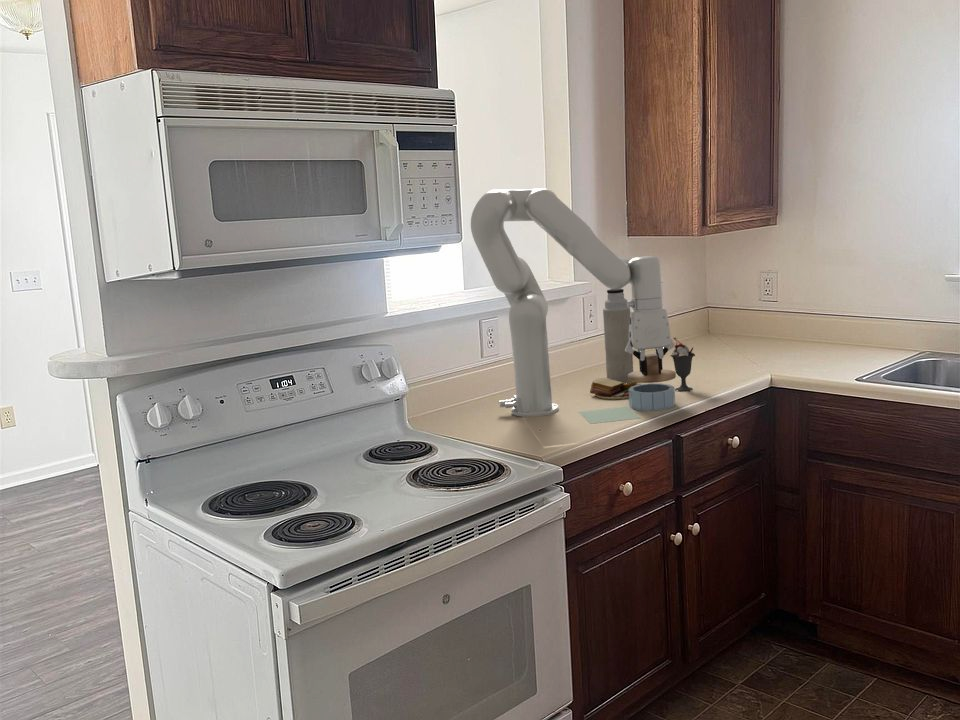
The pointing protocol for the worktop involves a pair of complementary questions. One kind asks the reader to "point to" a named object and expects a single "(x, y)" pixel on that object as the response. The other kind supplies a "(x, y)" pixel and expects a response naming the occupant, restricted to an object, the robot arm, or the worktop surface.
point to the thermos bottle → (617, 336)
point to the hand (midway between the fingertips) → (651, 373)
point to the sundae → (682, 364)
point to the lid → (652, 372)
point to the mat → (609, 415)
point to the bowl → (651, 396)
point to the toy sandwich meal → (610, 389)
